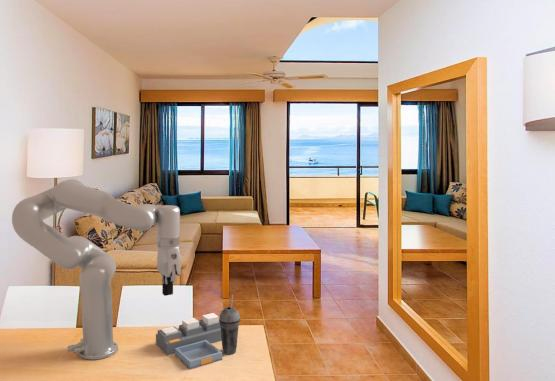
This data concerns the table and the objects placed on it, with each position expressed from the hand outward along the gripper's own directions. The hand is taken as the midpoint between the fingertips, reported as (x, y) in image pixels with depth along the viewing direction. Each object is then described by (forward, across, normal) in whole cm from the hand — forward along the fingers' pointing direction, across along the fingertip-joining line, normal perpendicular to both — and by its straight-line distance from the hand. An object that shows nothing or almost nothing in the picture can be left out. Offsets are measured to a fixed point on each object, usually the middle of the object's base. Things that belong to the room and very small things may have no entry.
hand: (167, 294), depth 160 cm
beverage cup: (+19, -14, -16) cm, 29 cm away
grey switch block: (+19, 0, -9) cm, 21 cm away
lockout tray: (+19, -12, -6) cm, 23 cm away
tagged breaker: (+15, 0, -1) cm, 15 cm away
